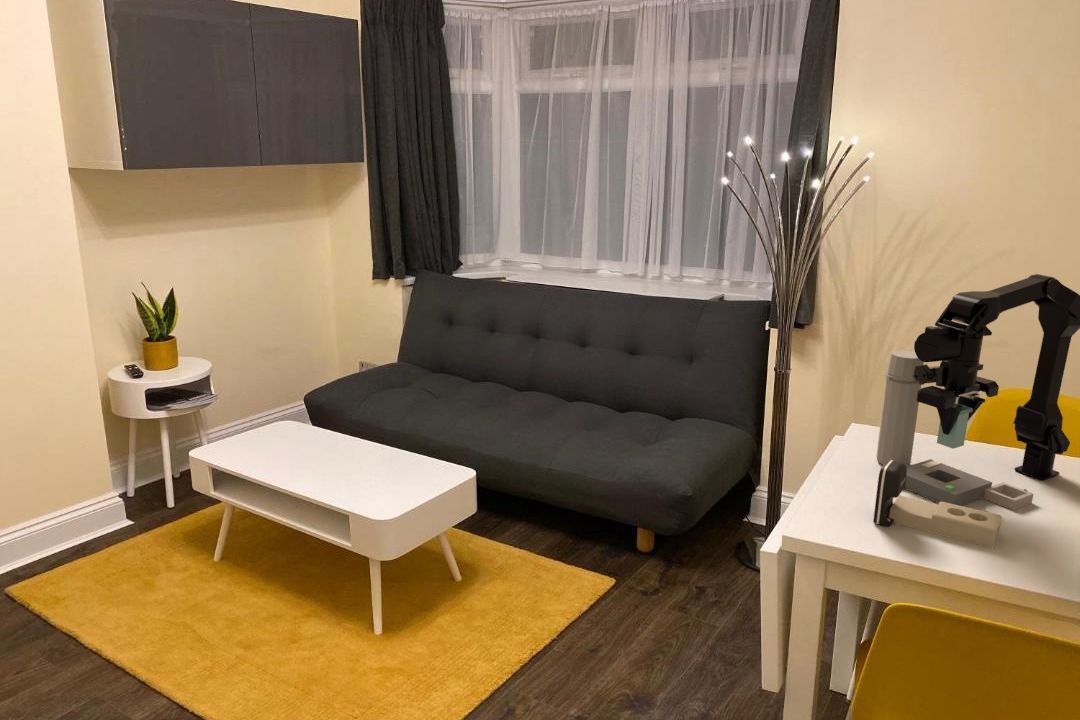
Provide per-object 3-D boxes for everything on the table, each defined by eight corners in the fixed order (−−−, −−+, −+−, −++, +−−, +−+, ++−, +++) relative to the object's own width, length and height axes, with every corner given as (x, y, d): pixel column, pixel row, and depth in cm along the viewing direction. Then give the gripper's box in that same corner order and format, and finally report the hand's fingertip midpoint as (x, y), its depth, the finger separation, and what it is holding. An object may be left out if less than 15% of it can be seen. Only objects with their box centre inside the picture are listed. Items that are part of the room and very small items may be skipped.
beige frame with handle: (1009, 488, 179) (1011, 479, 179) (1040, 499, 174) (1042, 490, 173) (982, 497, 174) (984, 488, 174) (1013, 510, 169) (1014, 500, 169)
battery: (893, 530, 161) (900, 473, 157) (872, 524, 163) (879, 468, 160) (902, 516, 166) (910, 461, 163) (882, 511, 168) (889, 456, 165)
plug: (946, 438, 178) (952, 401, 176) (966, 445, 174) (972, 408, 172) (933, 442, 176) (939, 405, 173) (953, 449, 172) (959, 411, 170)
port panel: (928, 472, 187) (930, 457, 186) (989, 495, 175) (992, 480, 174) (892, 483, 181) (894, 468, 180) (953, 509, 169) (955, 493, 169)
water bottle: (917, 469, 188) (932, 359, 181) (881, 469, 188) (895, 358, 181) (900, 453, 197) (914, 347, 190) (866, 453, 197) (879, 347, 190)
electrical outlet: (899, 490, 169) (1002, 514, 159) (897, 509, 170) (999, 534, 160) (890, 504, 163) (996, 529, 153) (888, 523, 164) (993, 550, 154)
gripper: (954, 343, 181) (943, 413, 186) (897, 354, 172) (887, 428, 176) (1005, 355, 172) (993, 429, 177) (948, 367, 163) (937, 445, 167)
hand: (951, 432), depth 174 cm, fingers closed on plug, 4 cm apart
